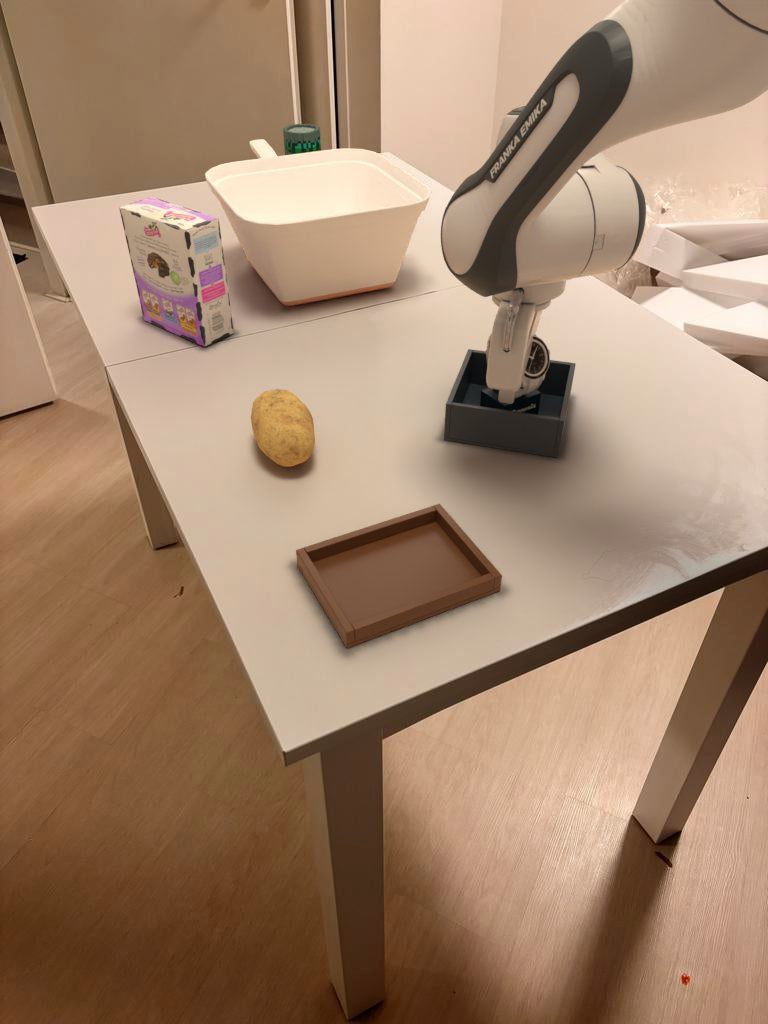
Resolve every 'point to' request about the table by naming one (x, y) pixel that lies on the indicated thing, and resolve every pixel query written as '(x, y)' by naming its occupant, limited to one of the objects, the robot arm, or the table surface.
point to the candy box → (179, 269)
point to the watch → (523, 382)
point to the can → (301, 139)
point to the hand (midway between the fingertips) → (511, 384)
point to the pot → (320, 219)
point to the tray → (396, 573)
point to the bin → (503, 425)
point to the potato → (283, 427)
